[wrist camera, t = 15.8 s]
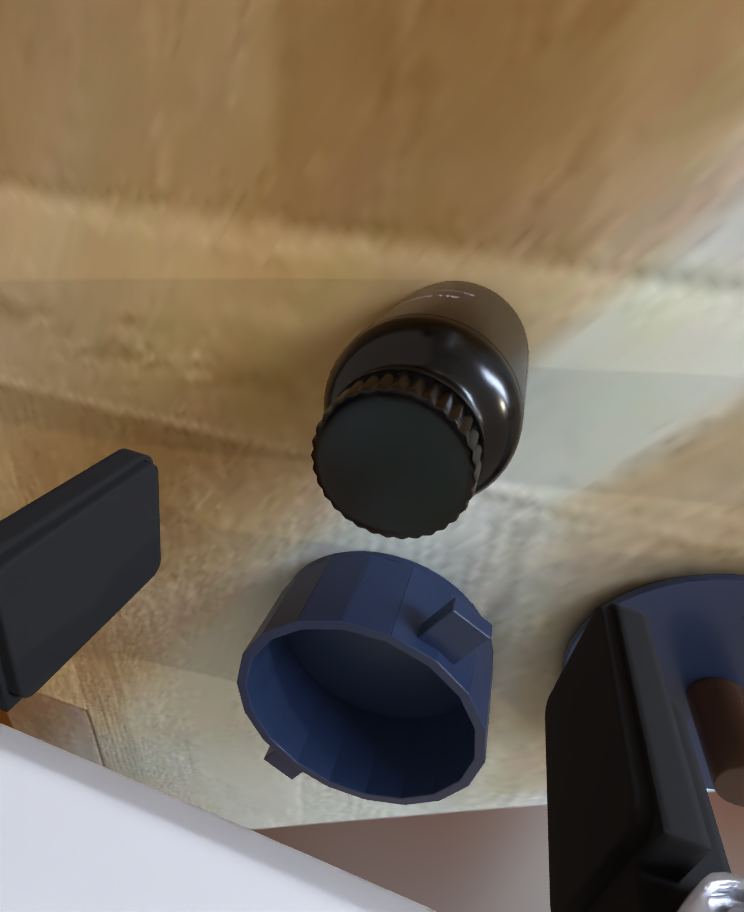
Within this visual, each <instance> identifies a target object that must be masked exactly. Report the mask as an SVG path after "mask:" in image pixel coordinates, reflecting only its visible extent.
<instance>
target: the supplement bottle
mask: <svg viewBox="0 0 744 912" xmlns="http://www.w3.org/2000/svg"><path fill="white" fill-rule="evenodd" d="M528 354H529V351H528V342H527V337H526V333H525V330H524V327H523V325H522V323H521V321H520V319H519V317H518V315H517V314H516V312H515V311H514V310H513V308H512V307H511V306H510V305H509V304H508V303H507V302H506V301H505V300H504V299H503V298H502V297H501V296H499V295H498V294H497V293H495V292H493V291H492V290H490V289H488V288H486V287H483V286H481V285H478V284H475V283H470V282H464V281H445V282H440V283H436V284H432V285H429V286H427V287H424V288H422V289H420V290H418V291H417V292H415V293H413V294H412V295H410V296H409V297H407V298H406V299H405V300H403V301H402V302H401V303H399V304H398V305H397V306H395V307H394V308H393V309H391V310H390V311H389V312H388V313H386V314H385V315H384V316H382V317H381V318H380V319H378V320H377V321H376V322H374V323H373V324H372V325H370V326H369V327H368V328H367V329H365V330H364V331H363V332H362V333H360V334H359V335H358V336H357V337H356V338H354V340H353V341H352V342H351V343H350V344H349V345H348V346H347V347H346V348H345V349H344V350H343V352H342V353H341V354H340V355H339V357H338V359H337V360H336V362H335V364H334V366H333V368H332V370H331V372H330V375H329V378H328V381H327V385H326V389H325V396H324V414H323V418H322V420H321V421H320V422H319V423H318V424H317V427H316V435H315V436H314V438H313V440H312V443H313V448H314V449H313V451H312V454H311V456H312V459H313V461H314V465H313V470H314V472H315V474H316V475H317V483H318V484H319V486H320V487H321V488H322V489H323V492H324V496H325V497H326V498H327V499H329V500H330V501H331V503H332V505H333V507H334V508H335V509H336V510H338V511H340V512H341V513H342V515H343V516H344V517H345V518H346V519H348V520H350V521H353V522H354V524H355V525H357V526H358V527H360V528H365V529H367V530H368V531H369V532H371V533H374V534H381V535H383V536H385V537H396V538H399V539H405V538H408V537H410V538H419V537H421V536H423V535H432V534H434V533H435V532H436V531H438V530H444V529H445V528H446V527H447V526H448V524H449V523H452V522H454V521H456V520H457V519H458V517H459V514H460V513H462V512H463V511H464V510H466V508H467V507H468V503H469V500H470V499H471V498H472V497H473V496H474V495H476V494H478V493H480V492H481V491H483V490H484V489H486V488H487V487H488V486H489V485H491V484H492V483H493V482H494V481H495V480H496V479H497V478H498V477H499V476H500V475H501V474H502V472H503V471H504V470H505V469H506V467H507V466H508V464H509V463H510V461H511V459H512V457H513V455H514V453H515V451H516V448H517V445H518V443H519V439H520V435H521V431H522V424H523V416H524V406H525V395H526V384H527V373H528Z"/></svg>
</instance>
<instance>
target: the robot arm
mask: <svg viewBox="0 0 744 912" xmlns="http://www.w3.org/2000/svg"><path fill="white" fill-rule="evenodd" d="M160 561H161V552H160V517H159V483H158V468H157V466H155V465H154V464H153V461H152V459H151V457H149V456H148V455H144V454H141V453H138V452H135V451H132V450H129V449H120V450H118V451H116V452H115V453H113V454H111V455H110V456H108V457H106V458H105V459H103V460H101V461H100V462H98V463H96V464H95V465H93V466H91V467H90V468H88V469H86V470H85V471H83V472H81V473H80V474H78V475H76V476H75V477H73V478H71V479H70V480H68V481H66V482H65V483H63V484H61V485H60V486H58V487H56V488H55V489H53V490H51V491H50V492H48V493H46V494H45V495H43V496H41V497H40V498H38V499H36V500H35V501H33V502H31V503H30V504H28V505H26V506H25V507H23V508H21V509H20V510H18V511H16V512H15V513H13V514H11V515H10V516H8V517H6V518H5V519H3V520H1V521H0V709H1V710H4V711H6V712H8V711H9V710H10V709H11V708H12V707H13V706H14V705H15V704H16V703H17V702H18V701H20V700H21V699H22V698H27V697H30V696H32V695H33V694H34V693H36V692H37V691H38V690H39V689H40V688H41V687H42V686H43V685H44V684H45V683H46V682H47V681H48V680H49V679H50V678H51V677H52V676H53V675H54V674H55V673H56V672H57V671H58V670H59V669H60V668H61V667H62V666H63V665H64V664H65V663H66V662H67V661H68V660H69V659H70V658H71V657H72V656H73V655H74V654H75V653H76V652H77V651H78V650H79V649H80V648H81V647H82V646H83V645H84V644H85V643H86V642H87V641H88V640H89V639H90V638H91V637H92V636H93V635H94V634H95V633H96V632H98V631H99V630H100V629H101V628H102V627H103V626H104V625H105V624H106V623H107V622H108V621H109V620H110V619H111V618H112V617H113V616H114V615H115V614H116V613H117V612H118V611H119V610H120V609H121V608H122V607H123V606H124V605H125V604H126V603H127V602H128V601H129V600H130V599H131V598H132V597H133V596H134V595H135V594H136V593H137V592H138V591H139V590H140V589H141V588H142V587H143V586H144V585H145V584H146V583H147V582H148V581H149V580H150V579H151V578H152V577H153V576H154V575H155V574H156V572H157V570H158V568H159V566H160ZM545 732H546V768H547V805H548V842H549V874H550V875H549V877H550V907H551V912H744V877H741V876H738V875H735V874H731V870H730V867H729V864H728V861H727V857H726V854H725V850H724V847H723V844H722V841H721V837H720V834H719V830H718V827H717V824H716V820H715V817H714V814H713V810H712V807H711V804H710V800H709V797H708V793H707V790H706V787H705V783H704V780H703V777H702V773H701V770H700V767H699V763H698V760H697V757H696V753H695V750H694V747H693V743H692V740H691V737H690V733H689V730H688V727H687V723H686V720H685V717H684V713H683V711H682V709H681V706H680V704H679V703H678V702H677V701H676V700H675V699H673V698H670V697H669V695H668V691H667V687H666V684H665V680H664V677H663V673H662V670H661V666H660V662H659V659H658V655H657V652H656V648H655V645H654V641H653V637H652V634H651V630H650V627H649V623H648V619H647V617H646V615H645V614H644V613H643V612H641V611H638V610H634V609H631V608H628V607H625V606H622V605H619V604H615V603H610V604H609V605H608V606H607V607H606V609H605V608H602V607H597V608H596V610H595V611H594V613H593V615H592V617H591V618H590V620H589V622H588V624H587V626H586V628H585V630H584V632H583V633H582V635H581V637H580V639H579V641H578V643H577V645H576V647H575V649H574V650H573V652H572V654H571V656H570V658H569V660H568V662H567V664H566V665H565V667H564V669H563V671H562V673H561V675H560V677H559V679H558V680H557V682H556V684H555V686H554V688H553V690H552V692H551V694H550V696H549V698H548V701H547V705H546V711H545ZM0 912H437V911H435V910H432V909H430V908H428V907H426V906H423V905H421V904H419V903H417V902H414V901H412V900H410V899H408V898H405V897H403V896H401V895H398V894H396V893H394V892H392V891H389V890H387V889H385V888H382V887H380V886H378V885H376V884H373V883H371V882H368V881H366V880H364V879H362V878H360V877H357V876H355V875H353V874H350V873H348V872H346V871H344V870H341V869H339V868H337V867H334V866H332V865H329V864H327V863H325V862H323V861H321V860H318V859H316V858H314V857H311V856H309V855H307V854H305V853H302V852H300V851H298V850H295V849H293V848H291V847H288V846H286V845H284V844H282V843H279V842H277V841H275V840H272V839H270V838H268V837H265V836H263V835H261V834H259V833H256V832H254V831H252V830H249V829H247V828H245V827H242V826H240V825H238V824H235V823H233V822H231V821H228V820H226V819H224V818H221V817H219V816H217V815H215V814H212V813H210V812H208V811H205V810H203V809H201V808H198V807H196V806H194V805H191V804H189V803H187V802H184V801H182V800H180V799H177V798H175V797H173V796H170V795H168V794H166V793H163V792H161V791H159V790H156V789H154V788H152V787H149V786H147V785H145V784H142V783H140V782H138V781H135V780H133V779H131V778H128V777H126V776H124V775H121V774H119V773H117V772H114V771H112V770H110V769H107V768H105V767H103V766H100V765H98V764H96V763H93V762H91V761H89V760H86V759H84V758H81V757H79V756H77V755H74V754H72V753H70V752H67V751H65V750H63V749H60V748H58V747H56V746H53V745H51V744H48V743H46V742H44V741H41V740H39V739H37V738H34V737H32V736H30V735H27V734H25V733H22V732H20V731H18V730H15V729H13V728H11V727H8V726H6V725H4V724H1V723H0Z"/></svg>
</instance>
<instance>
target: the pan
mask: <svg viewBox="0 0 744 912" xmlns="http://www.w3.org/2000/svg"><path fill="white" fill-rule="evenodd" d="M491 632H492V625H491V624H490V623H489V622H487V621H486V620H485V619H484V618H482V617H481V616H480V614H479V613H478V611H477V610H476V609H475V607H474V606H473V604H472V603H471V602H470V601H469V600H468V599H467V598H466V597H465V596H464V594H463V593H461V592H460V591H459V590H458V589H457V588H456V587H455V586H453V585H452V584H451V583H450V582H448V581H447V580H445V579H444V578H443V577H441V576H440V575H438V574H436V573H435V572H433V571H431V570H429V569H427V568H426V567H424V566H421V565H419V564H417V563H414V562H412V561H410V560H406V559H403V558H400V557H397V556H393V555H388V554H383V553H377V552H366V551H356V552H344V553H337V554H333V555H330V556H326V557H323V558H321V559H319V560H316V561H314V562H312V563H311V564H309V565H307V566H306V567H304V568H303V569H302V570H301V571H300V572H299V573H297V574H296V575H295V576H294V578H293V579H292V580H291V582H290V583H289V585H288V586H287V587H286V588H285V589H284V590H283V591H282V593H281V595H280V596H279V598H278V599H277V601H276V602H275V604H274V606H273V607H272V609H271V610H270V612H269V614H268V615H267V617H266V618H265V620H264V621H263V623H262V625H261V626H260V628H259V629H258V631H257V632H256V634H255V636H254V637H253V639H252V640H251V642H250V643H249V645H248V647H247V648H246V650H245V651H244V653H243V655H242V660H241V665H240V670H239V674H238V679H237V685H238V688H239V692H240V696H241V700H242V704H243V707H244V711H245V713H246V714H247V716H248V717H249V719H250V720H251V722H252V723H253V725H254V726H255V728H256V729H257V731H258V732H259V734H260V735H261V737H262V738H263V740H264V741H265V742H267V743H268V744H269V745H270V747H269V749H268V751H267V753H266V755H265V758H264V760H266V761H267V762H269V763H270V764H271V765H273V766H274V767H275V768H277V769H278V770H280V771H281V772H282V773H284V774H285V775H286V776H288V777H289V778H291V779H293V778H295V777H296V776H297V775H299V774H300V773H302V772H304V773H306V774H307V775H309V776H311V777H312V778H314V779H316V780H318V781H319V782H321V783H323V784H324V785H326V786H328V787H331V788H334V789H337V790H340V791H343V792H345V793H348V794H351V795H354V796H357V797H360V798H362V799H366V800H373V801H380V802H388V803H395V804H402V805H403V804H404V805H407V804H416V803H424V802H432V801H439V800H442V799H444V798H446V797H448V796H450V795H452V794H454V793H455V792H457V791H459V790H461V789H463V788H465V787H467V786H469V784H470V783H471V781H472V780H473V779H474V777H475V776H476V774H477V773H478V771H479V770H480V768H481V767H482V766H483V764H484V763H485V759H486V747H487V735H488V724H489V712H490V700H491V688H492V671H493V648H492V642H491Z"/></svg>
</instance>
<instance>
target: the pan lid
mask: <svg viewBox="0 0 744 912" xmlns="http://www.w3.org/2000/svg"><path fill="white" fill-rule="evenodd" d="M610 603H615V604H619V605H622V606H625V607H628V608H631V609H634V610H638V611H641V612H643V613H644V614H645V615H646V617H647V619H648V623H649V627H650V630H651V634H652V637H653V641H654V645H655V648H656V652H657V655H658V659H659V662H660V666H661V670H662V673H663V677H664V680H665V684H666V687H667V691H668V695H669V697H670V698H673V699H675V700H676V701H677V702H678V703H679V704H680V706H681V709H682V711H683V713H684V717H685V720H686V723H687V727H688V730H689V733H690V737H691V740H692V743H693V747H694V750H695V753H696V757H697V760H698V763H699V767H700V770H701V773H702V777H703V780H704V783H705V787H706V788H708V789H715V791H716V792H717V794H718V795H719V796H720V797H722V798H723V799H724V800H726V801H728V802H730V803H732V804H735V805H738V806H743V807H744V575H733V574H706V575H696V576H686V577H679V578H674V579H669V580H664V581H659V582H656V583H653V584H649V585H646V586H643V587H640V588H637V589H635V590H633V591H630V592H628V593H625V594H623V595H621V596H619V597H618V598H616V599H614V600H612V601H610V602H609V603H607V604H605V605H604V606H603V607H602V608H605V609H606V607H607V606H608V605H609V604H610ZM592 615H593V614H592ZM592 615H591V616H590V617H589V618H588V619H587V620H586V621H585V622H584V623H583V624H582V625H581V626H580V628H579V629H578V630H577V632H576V633H575V634H574V636H573V637H572V639H571V641H570V643H569V645H568V647H567V649H566V653H565V656H564V660H563V666H562V671H563V669H564V667H565V665H566V664H567V662H568V660H569V658H570V656H571V654H572V652H573V650H574V649H575V647H576V645H577V643H578V641H579V639H580V637H581V635H582V633H583V632H584V630H585V628H586V626H587V624H588V622H589V620H590V618H591V617H592Z"/></svg>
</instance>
